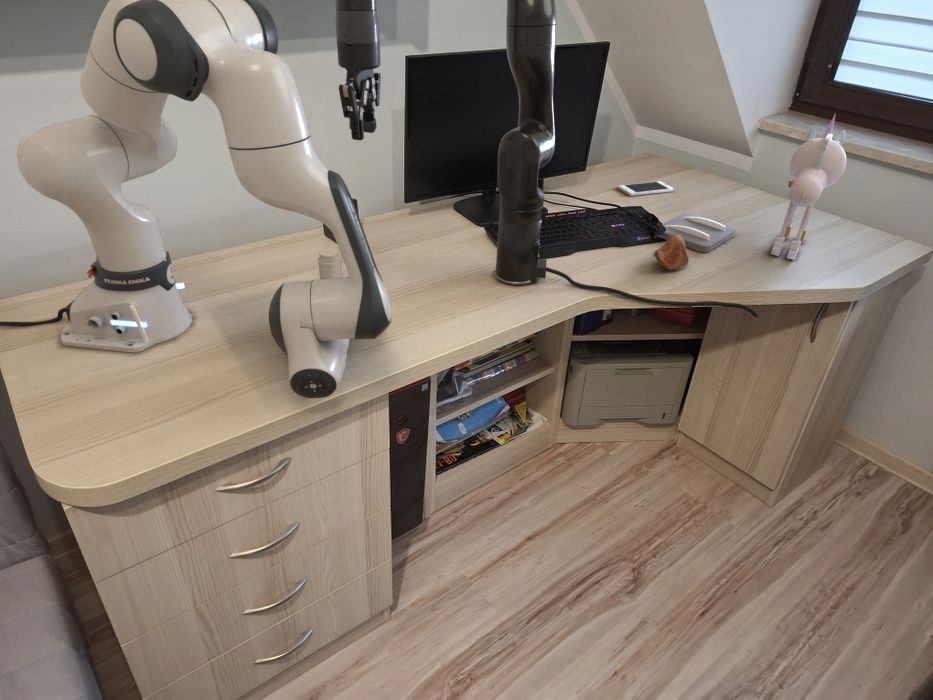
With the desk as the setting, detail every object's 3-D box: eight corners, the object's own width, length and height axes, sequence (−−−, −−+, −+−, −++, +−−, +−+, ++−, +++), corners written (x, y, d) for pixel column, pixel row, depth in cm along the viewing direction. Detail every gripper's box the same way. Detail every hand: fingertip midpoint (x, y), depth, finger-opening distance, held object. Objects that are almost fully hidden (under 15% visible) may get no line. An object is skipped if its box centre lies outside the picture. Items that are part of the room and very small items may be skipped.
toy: (826, 222, 178) (867, 110, 161) (806, 269, 152) (852, 142, 135) (779, 212, 183) (814, 103, 167) (751, 256, 157) (789, 132, 141)
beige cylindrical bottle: (341, 315, 128) (334, 244, 119) (350, 325, 125) (343, 253, 116) (321, 321, 126) (313, 249, 117) (330, 331, 123) (322, 258, 114)
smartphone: (617, 188, 196) (618, 185, 196) (659, 183, 201) (660, 180, 200) (630, 196, 191) (630, 193, 190) (673, 191, 196) (674, 188, 195)
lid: (370, 133, 119) (369, 123, 118) (345, 130, 120) (344, 121, 119) (380, 126, 123) (380, 117, 122) (355, 123, 124) (355, 114, 123)
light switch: (708, 241, 156) (653, 223, 165) (705, 253, 158) (650, 234, 167) (740, 223, 167) (687, 206, 176) (737, 234, 169) (684, 217, 178)
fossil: (662, 265, 143) (667, 221, 144) (634, 267, 151) (640, 225, 151) (699, 275, 150) (704, 233, 150) (671, 277, 157) (676, 237, 157)
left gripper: (384, 315, 110) (387, 278, 121) (263, 316, 108) (277, 278, 120) (385, 345, 113) (388, 306, 125) (268, 347, 112) (282, 307, 123)
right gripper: (355, 31, 119) (360, 124, 128) (320, 41, 107) (329, 143, 117) (392, 34, 117) (395, 128, 127) (361, 45, 106) (367, 148, 115)
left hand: (333, 292), depth 122 cm, fingers closed on beige cylindrical bottle, 4 cm apart
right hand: (363, 135), depth 122 cm, fingers closed on lid, 5 cm apart
